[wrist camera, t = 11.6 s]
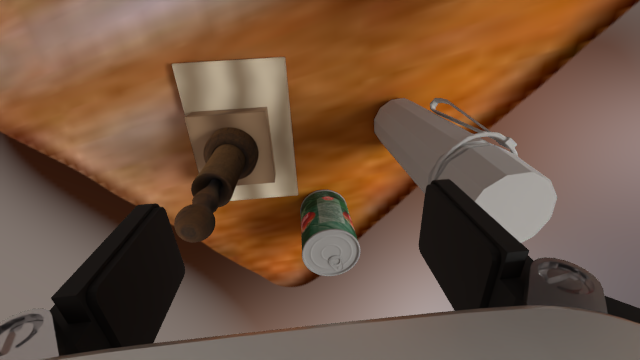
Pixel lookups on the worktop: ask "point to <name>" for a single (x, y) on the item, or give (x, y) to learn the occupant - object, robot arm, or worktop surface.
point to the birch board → (246, 92)
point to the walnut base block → (244, 119)
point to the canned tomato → (327, 234)
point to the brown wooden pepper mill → (216, 181)
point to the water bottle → (467, 164)
